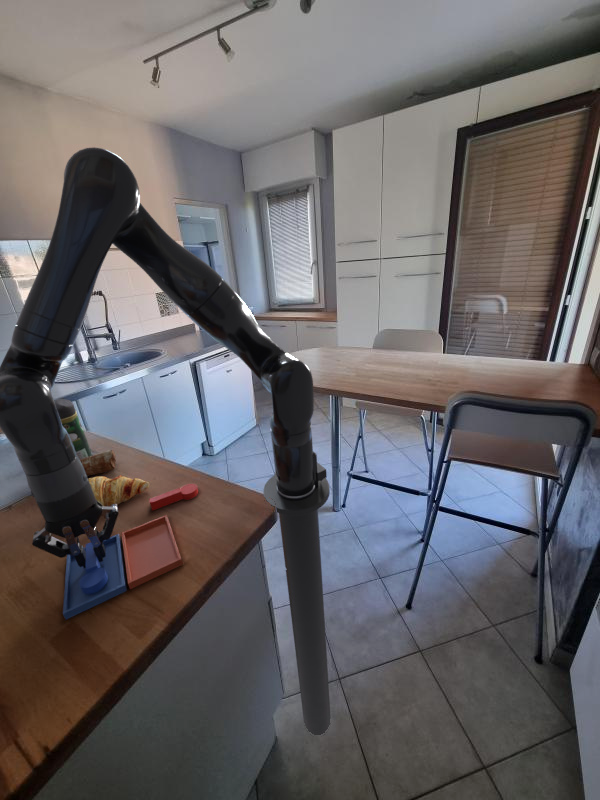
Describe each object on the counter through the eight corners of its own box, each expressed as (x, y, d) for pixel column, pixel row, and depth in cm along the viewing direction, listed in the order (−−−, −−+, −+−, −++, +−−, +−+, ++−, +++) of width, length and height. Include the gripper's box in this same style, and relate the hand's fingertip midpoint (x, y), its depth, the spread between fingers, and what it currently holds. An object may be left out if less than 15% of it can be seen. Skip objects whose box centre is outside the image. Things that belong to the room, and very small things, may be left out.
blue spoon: (82, 555, 64) (78, 546, 63) (105, 545, 66) (102, 537, 65) (81, 598, 55) (77, 589, 55) (108, 586, 57) (104, 577, 56)
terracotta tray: (168, 519, 73) (166, 514, 72) (182, 564, 62) (181, 558, 61) (123, 537, 69) (121, 532, 68) (130, 589, 57) (127, 583, 57)
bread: (118, 472, 91) (112, 455, 89) (36, 493, 85) (27, 475, 83) (120, 461, 96) (115, 444, 94) (43, 479, 90) (36, 462, 88)
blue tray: (120, 538, 68) (118, 533, 68) (127, 590, 57) (124, 585, 57) (69, 559, 64) (66, 554, 64) (65, 619, 53) (62, 614, 53)
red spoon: (153, 513, 75) (150, 505, 74) (150, 503, 78) (148, 496, 77) (200, 495, 80) (198, 487, 79) (195, 486, 83) (194, 479, 82)
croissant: (153, 494, 87) (147, 463, 87) (149, 499, 77) (143, 465, 78) (58, 519, 79) (52, 486, 80) (41, 529, 70) (34, 492, 70)
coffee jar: (60, 457, 101) (36, 401, 93) (89, 448, 105) (69, 393, 98) (63, 471, 93) (38, 412, 86) (95, 460, 98) (73, 402, 90)
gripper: (106, 461, 61) (131, 533, 68) (13, 489, 55) (51, 565, 62) (108, 481, 55) (136, 558, 62) (4, 516, 49) (47, 596, 56)
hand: (93, 561), depth 62 cm, fingers closed on blue spoon, 2 cm apart
